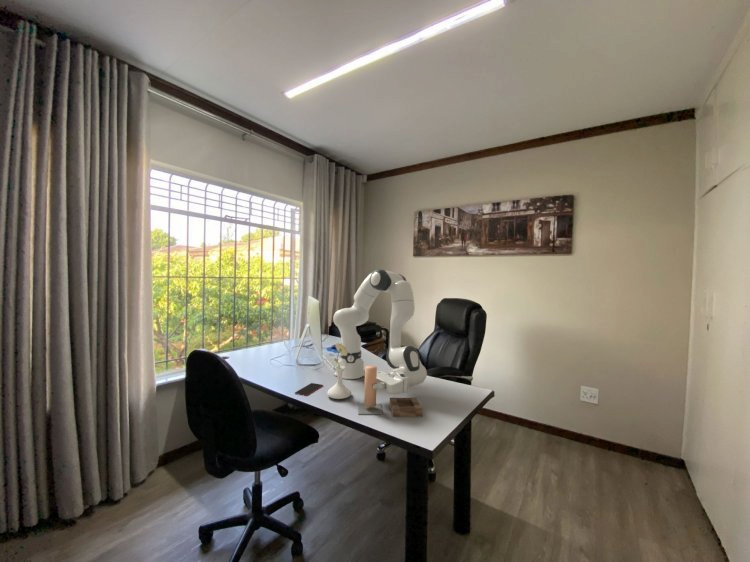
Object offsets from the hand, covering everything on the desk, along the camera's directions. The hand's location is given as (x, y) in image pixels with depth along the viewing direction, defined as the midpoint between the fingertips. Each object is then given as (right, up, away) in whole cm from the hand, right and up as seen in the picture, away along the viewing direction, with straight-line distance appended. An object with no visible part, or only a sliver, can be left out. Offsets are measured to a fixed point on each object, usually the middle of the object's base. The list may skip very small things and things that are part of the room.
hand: (368, 383), depth 128 cm
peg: (+1, -9, 0) cm, 9 cm away
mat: (0, -11, +1) cm, 11 cm away
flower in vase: (-14, -11, +15) cm, 23 cm away
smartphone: (-30, -11, +22) cm, 38 cm away
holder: (+15, -11, +1) cm, 19 cm away
